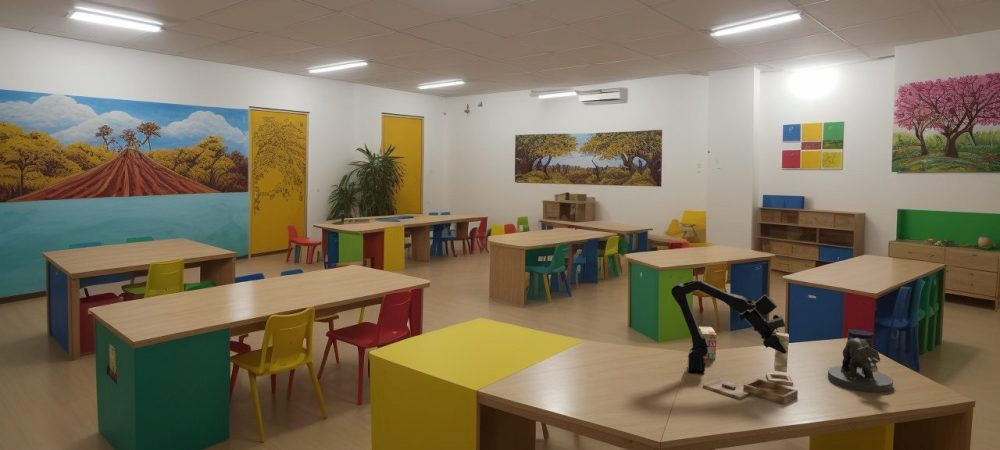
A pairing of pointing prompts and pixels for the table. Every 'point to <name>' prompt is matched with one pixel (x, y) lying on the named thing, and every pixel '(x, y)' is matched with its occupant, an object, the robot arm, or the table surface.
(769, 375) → the square wooden frame
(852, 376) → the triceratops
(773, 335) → the robot arm
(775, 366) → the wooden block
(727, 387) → the lid
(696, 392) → the table surface
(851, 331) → the storage jar
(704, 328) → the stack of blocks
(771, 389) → the tan wooden shallow tray
